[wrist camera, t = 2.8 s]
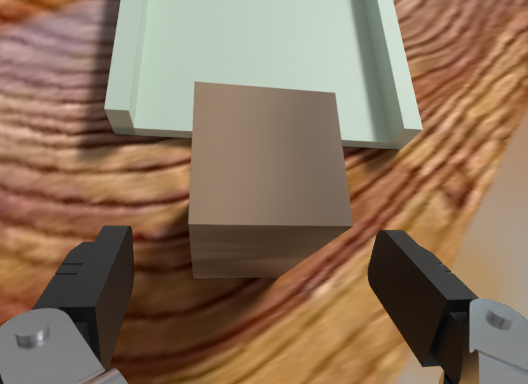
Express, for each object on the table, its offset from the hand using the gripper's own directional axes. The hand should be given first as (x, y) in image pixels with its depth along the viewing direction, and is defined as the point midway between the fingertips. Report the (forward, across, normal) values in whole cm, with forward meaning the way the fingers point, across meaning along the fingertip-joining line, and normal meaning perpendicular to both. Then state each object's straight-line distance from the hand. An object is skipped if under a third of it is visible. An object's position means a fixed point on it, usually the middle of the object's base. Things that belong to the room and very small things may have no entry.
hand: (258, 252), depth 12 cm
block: (+7, 0, +4) cm, 8 cm away
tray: (+18, -2, -7) cm, 19 cm away
